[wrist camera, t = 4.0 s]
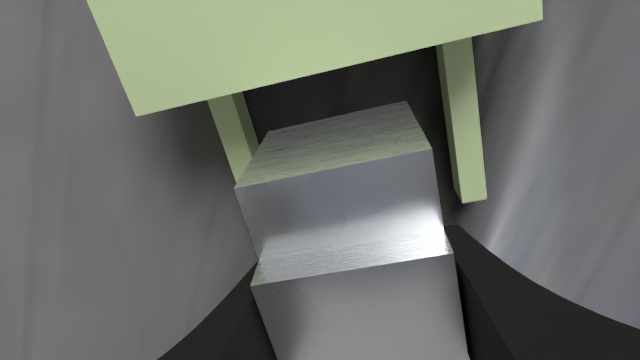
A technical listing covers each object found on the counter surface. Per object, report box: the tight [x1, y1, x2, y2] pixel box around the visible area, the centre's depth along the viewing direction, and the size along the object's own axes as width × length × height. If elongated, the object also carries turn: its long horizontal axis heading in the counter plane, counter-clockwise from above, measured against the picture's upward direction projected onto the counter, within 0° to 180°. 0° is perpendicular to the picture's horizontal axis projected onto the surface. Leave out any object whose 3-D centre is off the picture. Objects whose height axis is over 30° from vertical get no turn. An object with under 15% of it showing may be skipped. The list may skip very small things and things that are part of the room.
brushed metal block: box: [233, 101, 469, 360], centre depth 12 cm, size 7×4×6 cm, turn 14°
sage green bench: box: [87, 0, 543, 203], centre depth 15 cm, size 11×12×5 cm
